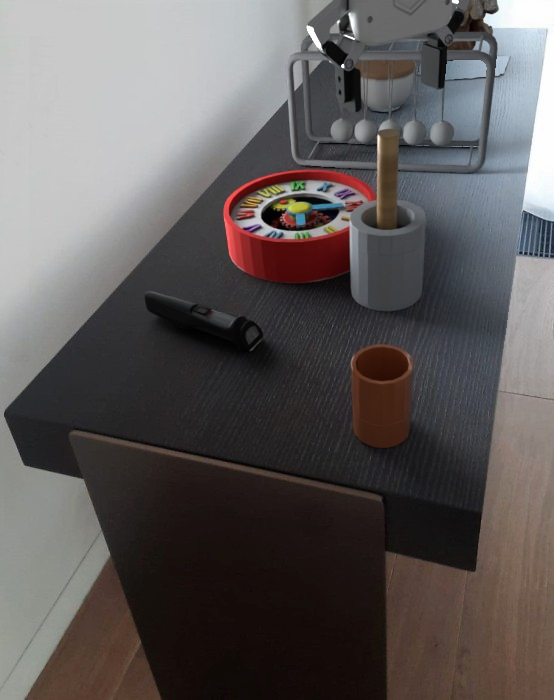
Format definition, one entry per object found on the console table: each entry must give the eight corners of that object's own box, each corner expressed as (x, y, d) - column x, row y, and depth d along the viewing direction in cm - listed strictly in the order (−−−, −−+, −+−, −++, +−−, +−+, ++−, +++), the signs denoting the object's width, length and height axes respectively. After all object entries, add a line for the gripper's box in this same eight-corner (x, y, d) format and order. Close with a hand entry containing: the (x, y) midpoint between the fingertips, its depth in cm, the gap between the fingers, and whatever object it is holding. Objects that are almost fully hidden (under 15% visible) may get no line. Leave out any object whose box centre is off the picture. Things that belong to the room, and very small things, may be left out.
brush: (404, 288, 84) (410, 133, 72) (381, 296, 83) (383, 141, 71) (389, 276, 86) (392, 124, 74) (367, 284, 85) (366, 131, 73)
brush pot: (421, 434, 66) (425, 369, 61) (372, 456, 64) (372, 391, 59) (389, 400, 70) (390, 337, 65) (342, 420, 68) (340, 357, 63)
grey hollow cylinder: (436, 296, 83) (441, 221, 77) (375, 319, 80) (375, 243, 74) (396, 265, 89) (397, 192, 83) (338, 285, 86) (335, 212, 80)
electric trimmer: (161, 303, 87) (156, 281, 85) (265, 336, 80) (262, 313, 78) (141, 319, 85) (135, 298, 83) (247, 355, 77) (243, 332, 75)
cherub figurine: (513, 54, 148) (525, -41, 137) (500, 83, 136) (511, -20, 125) (430, 51, 155) (434, -40, 143) (409, 79, 142) (413, -19, 131)
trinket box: (362, 120, 127) (362, 67, 121) (350, 101, 135) (349, 50, 129) (420, 113, 127) (423, 59, 121) (405, 93, 136) (406, 42, 130)
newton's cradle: (487, 146, 114) (499, 30, 103) (483, 175, 106) (496, 52, 95) (307, 141, 122) (300, 32, 111) (291, 167, 114) (283, 53, 103)
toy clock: (226, 176, 100) (367, 163, 99) (231, 213, 103) (367, 201, 103) (219, 248, 84) (386, 234, 83) (225, 289, 88) (386, 276, 87)
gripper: (325, -89, 54) (335, 129, 64) (505, -121, 59) (487, 86, 69) (282, -95, 59) (297, 107, 70) (449, -123, 65) (440, 69, 75)
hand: (391, 97), depth 70 cm, fingers open, 9 cm apart
